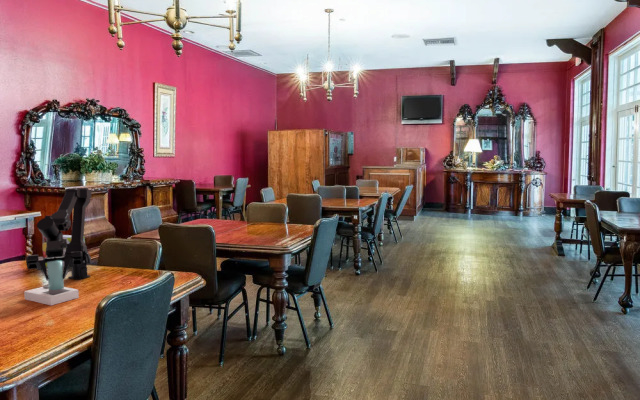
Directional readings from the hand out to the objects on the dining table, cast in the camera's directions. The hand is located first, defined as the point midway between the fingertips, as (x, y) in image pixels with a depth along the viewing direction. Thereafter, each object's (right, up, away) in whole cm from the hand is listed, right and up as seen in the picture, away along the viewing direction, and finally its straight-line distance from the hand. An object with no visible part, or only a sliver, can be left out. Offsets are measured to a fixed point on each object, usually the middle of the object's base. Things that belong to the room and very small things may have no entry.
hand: (55, 279), depth 188 cm
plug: (-1, -7, +2) cm, 7 cm away
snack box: (-24, -3, +55) cm, 61 cm away
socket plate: (-3, -8, +3) cm, 9 cm away
